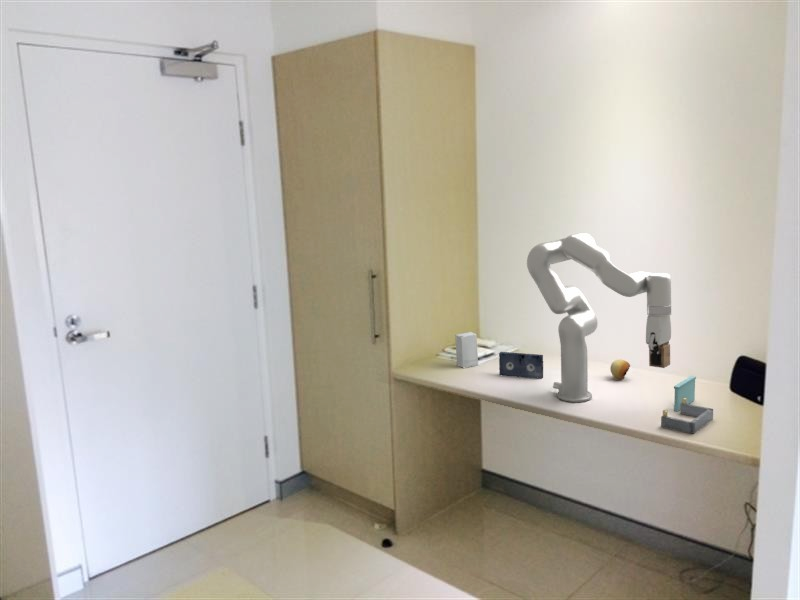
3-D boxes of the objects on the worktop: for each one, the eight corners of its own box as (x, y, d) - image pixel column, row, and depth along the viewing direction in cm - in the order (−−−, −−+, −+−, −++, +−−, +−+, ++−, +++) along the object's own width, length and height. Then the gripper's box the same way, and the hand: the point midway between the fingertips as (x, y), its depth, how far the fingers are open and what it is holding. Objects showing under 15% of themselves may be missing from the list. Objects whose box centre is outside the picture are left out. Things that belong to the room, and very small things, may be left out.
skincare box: (471, 362, 295) (470, 331, 292) (478, 365, 289) (477, 333, 287) (455, 365, 291) (454, 333, 289) (462, 368, 286) (461, 336, 283)
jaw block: (649, 366, 218) (649, 344, 216) (655, 362, 221) (655, 341, 220) (664, 368, 214) (663, 345, 213) (670, 364, 217) (670, 342, 216)
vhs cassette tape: (543, 377, 267) (543, 354, 266) (541, 379, 265) (541, 356, 263) (501, 373, 276) (500, 351, 274) (499, 375, 273) (498, 353, 272)
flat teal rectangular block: (673, 410, 222) (673, 386, 220) (690, 399, 232) (691, 375, 231) (678, 411, 221) (678, 387, 219) (695, 400, 231) (696, 376, 230)
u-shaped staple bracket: (660, 426, 209) (661, 410, 208) (681, 412, 220) (682, 397, 219) (692, 434, 202) (693, 417, 201) (713, 419, 213) (713, 403, 212)
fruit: (627, 375, 264) (627, 356, 262) (632, 381, 255) (632, 362, 254) (608, 376, 264) (608, 357, 263) (612, 382, 256) (612, 362, 255)
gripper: (658, 305, 223) (659, 356, 226) (636, 313, 211) (637, 367, 214) (680, 306, 218) (681, 358, 221) (659, 315, 206) (660, 370, 209)
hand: (659, 362), depth 217 cm, fingers closed on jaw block, 5 cm apart
